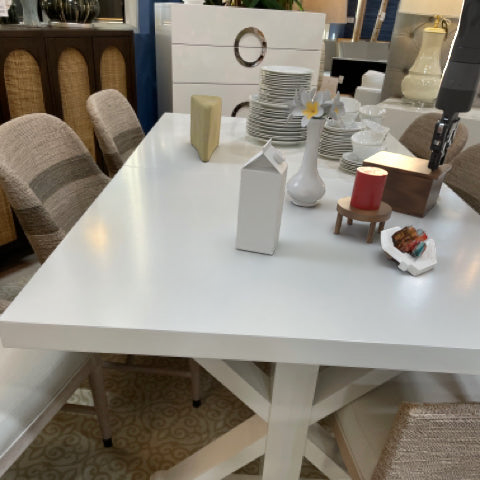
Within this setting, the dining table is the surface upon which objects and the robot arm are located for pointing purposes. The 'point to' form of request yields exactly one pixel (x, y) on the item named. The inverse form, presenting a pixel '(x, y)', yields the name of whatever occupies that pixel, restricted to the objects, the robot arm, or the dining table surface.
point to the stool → (362, 216)
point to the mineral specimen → (409, 249)
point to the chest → (410, 192)
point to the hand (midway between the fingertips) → (435, 166)
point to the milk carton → (261, 201)
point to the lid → (407, 165)
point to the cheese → (205, 124)
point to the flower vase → (311, 142)
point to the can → (368, 188)
